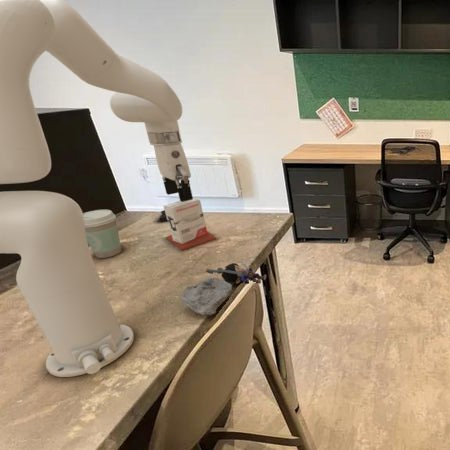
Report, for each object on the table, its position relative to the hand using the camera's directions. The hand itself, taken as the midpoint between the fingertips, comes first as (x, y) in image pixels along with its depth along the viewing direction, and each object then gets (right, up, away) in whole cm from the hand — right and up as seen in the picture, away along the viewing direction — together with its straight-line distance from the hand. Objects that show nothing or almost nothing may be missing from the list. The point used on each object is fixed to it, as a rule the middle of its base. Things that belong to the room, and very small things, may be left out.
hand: (179, 196), depth 101 cm
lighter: (-15, -4, +21) cm, 26 cm away
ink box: (0, -12, +6) cm, 14 cm away
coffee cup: (-18, -17, -3) cm, 25 cm away
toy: (+32, -21, -17) cm, 41 cm away
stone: (+20, -22, -21) cm, 36 cm away
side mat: (0, -13, +6) cm, 14 cm away
